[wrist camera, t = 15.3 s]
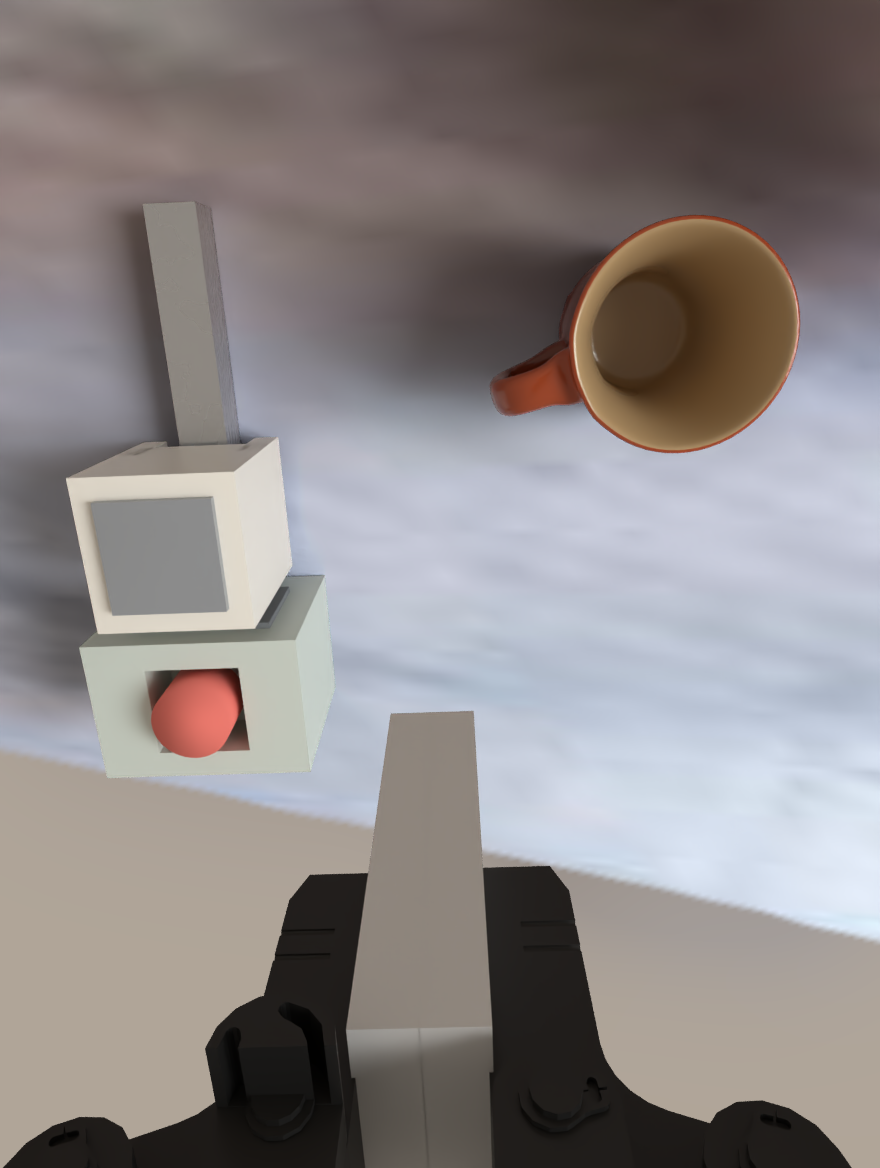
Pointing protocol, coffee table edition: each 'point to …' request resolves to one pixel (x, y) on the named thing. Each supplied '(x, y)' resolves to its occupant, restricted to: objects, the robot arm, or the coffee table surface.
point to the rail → (192, 322)
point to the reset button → (198, 711)
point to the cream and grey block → (183, 536)
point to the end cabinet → (258, 656)
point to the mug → (669, 338)
